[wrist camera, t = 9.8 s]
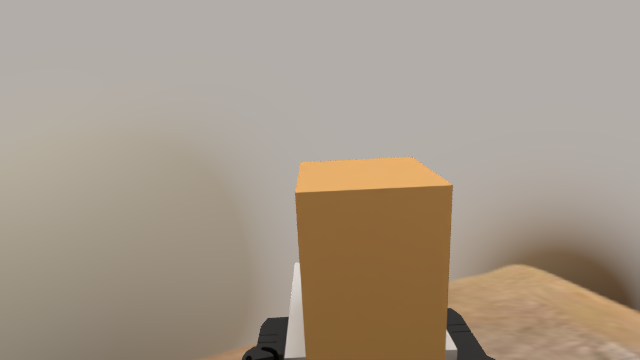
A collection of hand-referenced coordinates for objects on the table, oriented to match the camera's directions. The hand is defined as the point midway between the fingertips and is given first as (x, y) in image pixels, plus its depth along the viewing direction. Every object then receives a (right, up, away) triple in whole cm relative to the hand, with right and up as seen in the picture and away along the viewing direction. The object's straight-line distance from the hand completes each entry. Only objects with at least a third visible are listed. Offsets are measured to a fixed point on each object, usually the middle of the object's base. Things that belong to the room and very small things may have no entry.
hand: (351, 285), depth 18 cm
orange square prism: (0, -10, -3) cm, 10 cm away
